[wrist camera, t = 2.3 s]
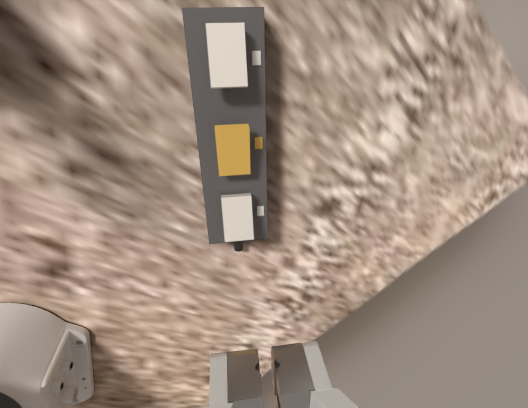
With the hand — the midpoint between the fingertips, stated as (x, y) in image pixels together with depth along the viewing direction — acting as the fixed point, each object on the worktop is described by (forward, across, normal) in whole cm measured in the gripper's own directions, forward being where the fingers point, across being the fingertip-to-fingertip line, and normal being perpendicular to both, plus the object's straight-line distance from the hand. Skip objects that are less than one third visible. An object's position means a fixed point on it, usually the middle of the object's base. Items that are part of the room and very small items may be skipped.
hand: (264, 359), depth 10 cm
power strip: (+29, 0, -2) cm, 29 cm away
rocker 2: (+24, 0, 0) cm, 24 cm away
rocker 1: (+24, 0, +8) cm, 26 cm away
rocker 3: (+24, 0, -8) cm, 26 cm away
